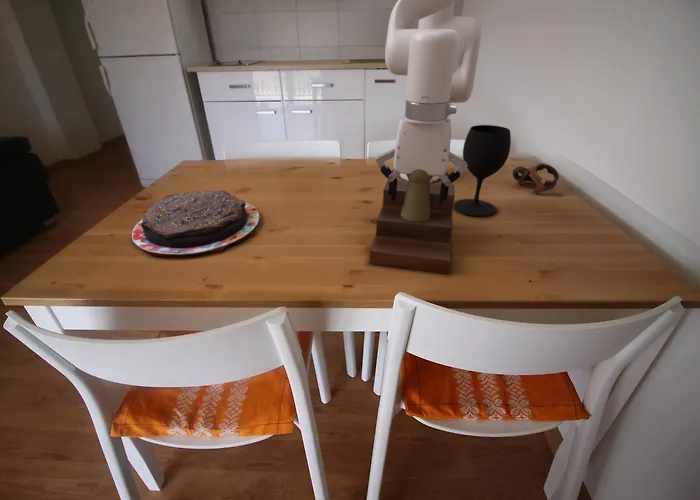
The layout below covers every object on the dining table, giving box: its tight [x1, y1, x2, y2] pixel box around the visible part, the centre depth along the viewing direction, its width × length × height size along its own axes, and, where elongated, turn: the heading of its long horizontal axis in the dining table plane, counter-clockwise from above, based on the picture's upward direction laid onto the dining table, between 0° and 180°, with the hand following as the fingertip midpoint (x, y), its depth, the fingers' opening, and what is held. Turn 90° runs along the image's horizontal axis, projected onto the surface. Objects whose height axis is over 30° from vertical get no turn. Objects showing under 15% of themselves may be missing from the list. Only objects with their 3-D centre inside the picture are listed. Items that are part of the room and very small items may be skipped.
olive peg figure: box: [401, 169, 433, 222], centre depth 71 cm, size 6×6×11 cm
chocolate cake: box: [131, 190, 260, 257], centre depth 82 cm, size 28×28×7 cm
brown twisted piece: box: [512, 162, 560, 195], centre depth 102 cm, size 12×10×8 cm
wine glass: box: [453, 124, 512, 218], centre depth 87 cm, size 10×10×20 cm
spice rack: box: [369, 179, 456, 274], centre depth 75 cm, size 21×15×10 cm
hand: (416, 200), depth 72 cm, fingers open, 9 cm apart
